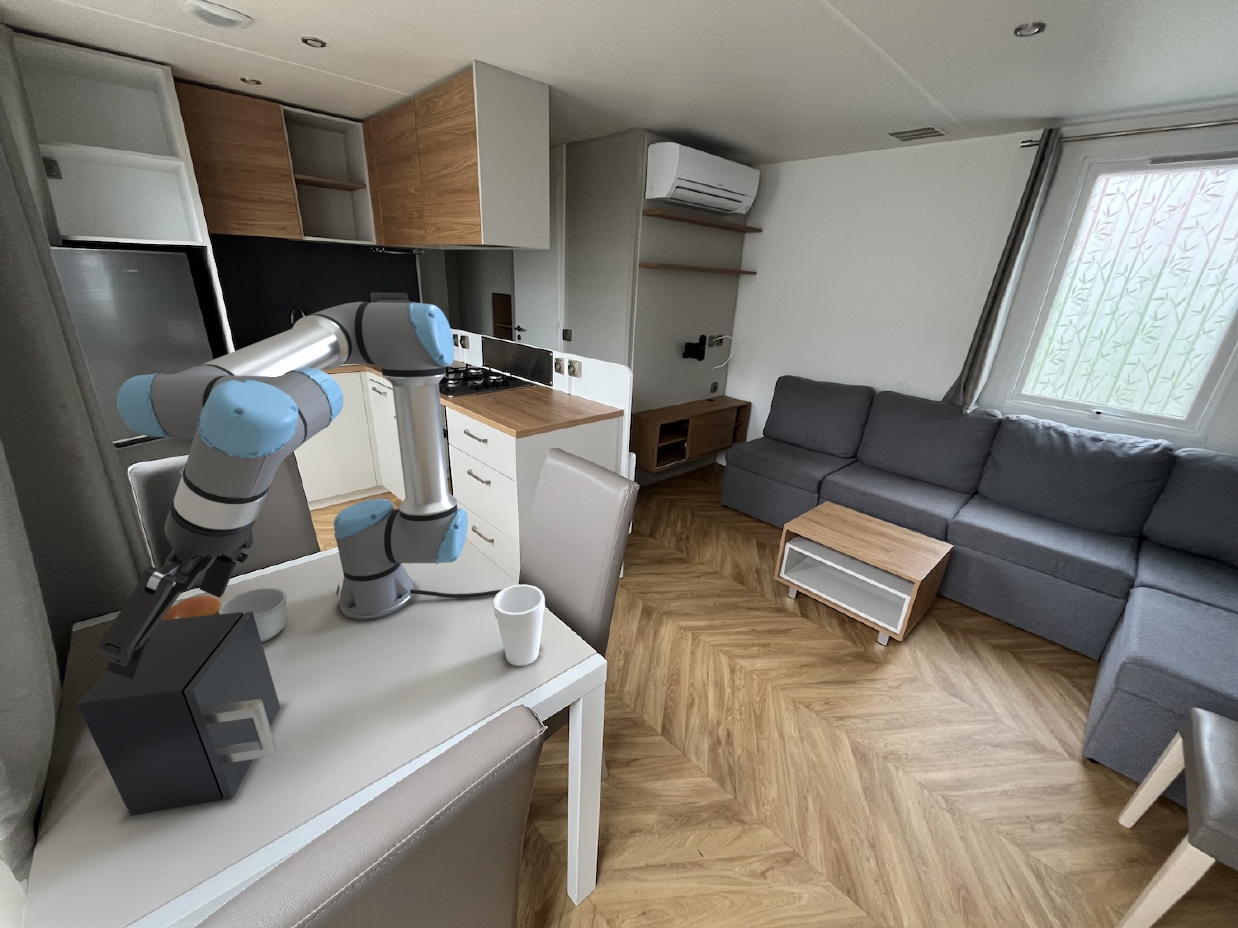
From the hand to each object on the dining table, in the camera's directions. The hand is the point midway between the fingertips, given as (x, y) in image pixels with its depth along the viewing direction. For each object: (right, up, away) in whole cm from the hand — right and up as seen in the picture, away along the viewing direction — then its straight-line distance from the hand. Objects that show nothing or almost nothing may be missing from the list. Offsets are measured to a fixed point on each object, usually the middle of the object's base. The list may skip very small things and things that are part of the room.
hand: (171, 628), depth 62 cm
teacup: (-17, -15, +38) cm, 44 cm away
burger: (-32, -13, +42) cm, 54 cm away
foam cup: (+37, -17, +35) cm, 54 cm away
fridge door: (+3, -23, +15) cm, 28 cm away
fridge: (-6, -24, +13) cm, 28 cm away
